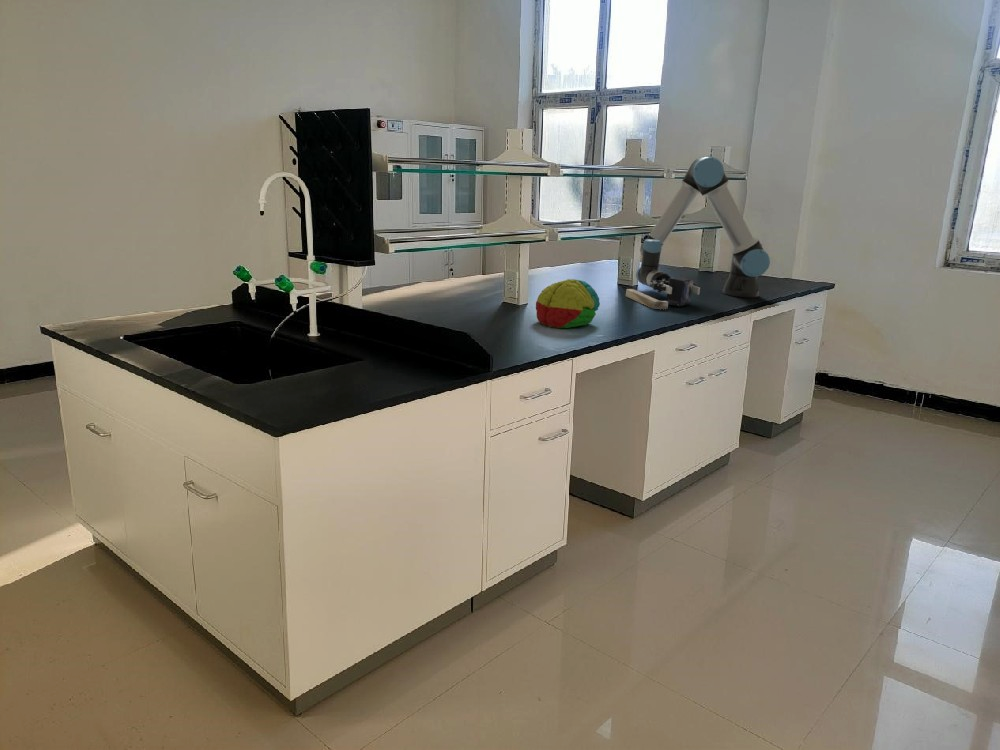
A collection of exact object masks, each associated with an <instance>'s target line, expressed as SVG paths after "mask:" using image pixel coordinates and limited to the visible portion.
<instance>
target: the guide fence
mask: <svg viewBox="0 0 1000 750" xmlns="http://www.w3.org/2000/svg"><path fill="white" fill-rule="evenodd" d="M625 297H626V298H629V299H631V300H633V301H634V302H637V303H640V304H642V305H643V304H644V306H645V305H646V307H647V306H648V307H647V308H649V309H652V310H654V309H660V310H659V311H662V310H661V309H663V310H664V309H665V310H664V311H667V310H668V308H669V304H668V302H667V301H666V300H659V299H656V298H654V297H651V296H650V295H648V294H645V293H643V292H641V291H639V290H636V289H633V288H626V292H625ZM666 309H667V310H666Z"/></svg>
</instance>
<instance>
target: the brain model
mask: <svg viewBox="0 0 1000 750" xmlns="http://www.w3.org/2000/svg"><path fill="white" fill-rule="evenodd" d="M600 304H601V303H600V297H599V295H598V293H597V291H596V290H595V289H594V288H593V286H592V285H590V284H589V283H588V282H587V281H585V280H579V279H574V278H573V279H572V278H569V279H568V278H567V279H566V280H560V281H558V282H555V283H552V284H550V285H548V286H546V287H545V288H543V289H542V291H541V292H540V293H539V295H538V297H537V299H536V302H535V311H536V318H537V321H538V322H539V323H540V324H541V325H542V326H544V327H549V328H552V327H553V328H554V329H568V328H569V329H570V328H576V327H579V326H580V327H581V326H583V327H584V326H586V325H588V324H590V323H592V321H593V320H594V318H595V316H596V312H597V311H598V310H599V307H600Z"/></svg>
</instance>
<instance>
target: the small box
mask: <svg viewBox="0 0 1000 750" xmlns="http://www.w3.org/2000/svg"><path fill="white" fill-rule="evenodd" d="M694 281H695V278H692V277H687V276H683V275H678V276H674V277H670V279H669V285H668V286H670V287H672V293H671V294H668V293H666V298H665V301H667V302H668V306H669V305H670V306H673V307H674V306H675V307H684V306H687V305H690V304H691V300H692V288H693V283H694Z"/></svg>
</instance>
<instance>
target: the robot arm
mask: <svg viewBox="0 0 1000 750" xmlns="http://www.w3.org/2000/svg"><path fill="white" fill-rule="evenodd" d="M728 184H729V179H728V177H727V175H726V173H725V169H724V165H723V163H722V162H721V161H720V159H718V158H716V157H714V156H708V155H707V156H701V157H698V158H695V160H694V161H693V162H692V163H691V164H690V166H689V168H688V170H687V172H686V174H685V175H684V177H683V178H682V180H681V186H680V188H679V189H678V191H677V192H676V194H675V195H674V197H673V198H672V200H671V201H670V203H669V204H668V206H667V207H666V209H665V210H664V212H663V213H662V215H661V216H660V218H659V219H658V220H657V223H656V224H654V225H655V226H654V227H653V228H652V230H651V231H652V232H651V231H650V233H651V234H650V233H649V234H648V236H647V238H646V239H644V241H643V242H642V243H641V245H640V249H639V250H640V254H641V265H640V267H639V268H638V269H637V270H636V273H635V277H636V280H637V281H638V282H639V283H641V284H642V285H644V286H647V287H650V288H652V289H653V290H654V291H657V292H658V293H662V292H664V293H666V294H667V293H668V294H671V293H672V287H670V286H668V285H669V279H670V278H671V276H670V275H669V274H668V273H666V272H663V271H660V270H659V267H660V260H661V254H662V253H661V252H662V247H663V246H664V244H665V242H666V241H667V239H668V237H669V236H670V235H671V234H672V232H673V230H674V229H675V227H676V226H677V225H678V223H679V222H680V220H681V218H682V217H683V216H684V214H685V213H686V211H687V210H688V208H689V207H690V206H691V205H692V202H693V201H694V199H695V198H696V196H698V195H700V194H701V196H703V197H706V198H707V200H708V202H709V203H710V205H711V207H712V209H713V211H714V213H715V215H716V217H717V219H718V221H719V223H720V224H721V227H722V228H723V230H724V232H725V235H726V236H727V238H728V240H729V241H730V244H731V246H732V250H731V254H732V257H731V264H730V271H729V276H728V278H727V279H726V282H725V284H724V286H723V289H722V293H723V294H725V295H728V296H733V297H738V296H739V297H738V298H757V297H759V293H760V290H759V284H758V277H759V276H762V275H764V274H766V272H767V271H768V270H769V269H770V268H769V267H770V263H771V259H770V256H769V254H768V252H766V250H764V248H763V244H762V243H761V242H760V240H759V238H755V237H753V235H752V233H751V231H750V229H749V227H748V225H747V223H746V221H745V220H744V218H743V215H742V214H741V213H742V212H741V211H740V209H739V208H738V205H737V203H736V202H735V200H734V197H733V196H732V193H731V192H730V189H729V188H728ZM697 285H698V284H697V283H696V284H695V283H694V282H693V288H692V293H693V294H694V295H698V296H699V295H700V292H701V287H700V286H697Z"/></svg>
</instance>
